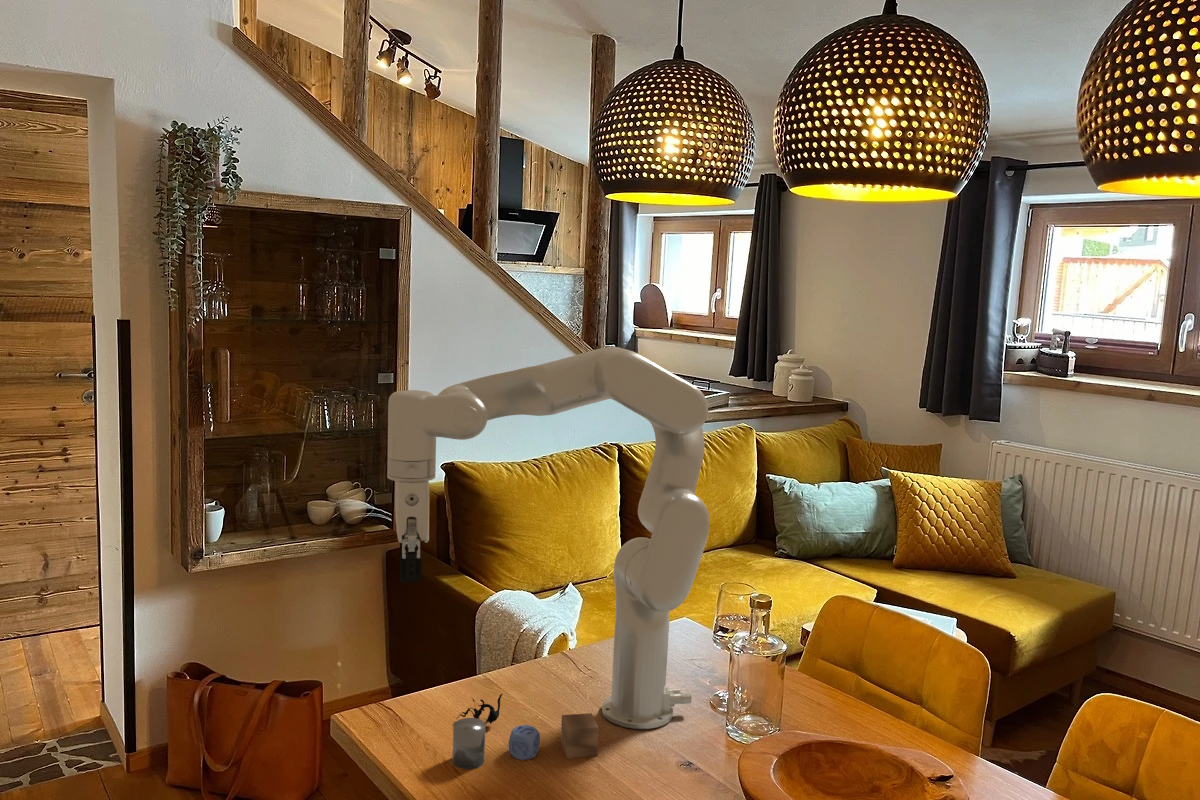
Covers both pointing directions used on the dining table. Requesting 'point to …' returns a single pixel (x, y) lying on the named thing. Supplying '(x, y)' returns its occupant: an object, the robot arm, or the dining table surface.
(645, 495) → the robot arm
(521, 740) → the decorative dice
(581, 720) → the walnut block
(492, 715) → the creature
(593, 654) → the dining table surface
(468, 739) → the dark metal cylinder
